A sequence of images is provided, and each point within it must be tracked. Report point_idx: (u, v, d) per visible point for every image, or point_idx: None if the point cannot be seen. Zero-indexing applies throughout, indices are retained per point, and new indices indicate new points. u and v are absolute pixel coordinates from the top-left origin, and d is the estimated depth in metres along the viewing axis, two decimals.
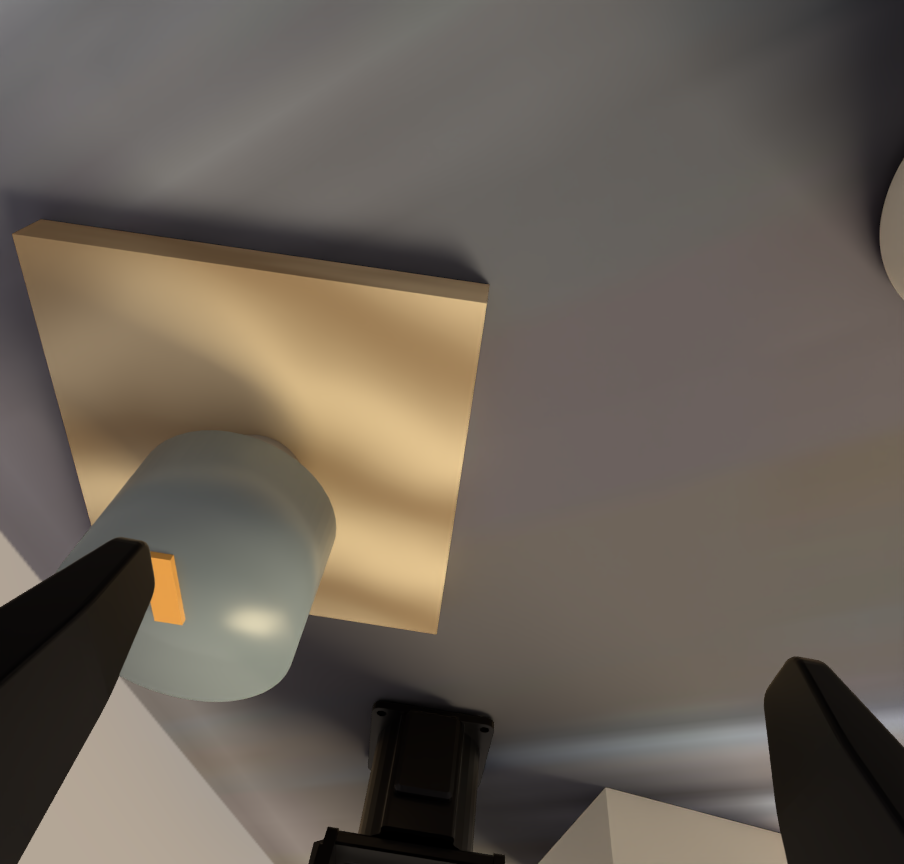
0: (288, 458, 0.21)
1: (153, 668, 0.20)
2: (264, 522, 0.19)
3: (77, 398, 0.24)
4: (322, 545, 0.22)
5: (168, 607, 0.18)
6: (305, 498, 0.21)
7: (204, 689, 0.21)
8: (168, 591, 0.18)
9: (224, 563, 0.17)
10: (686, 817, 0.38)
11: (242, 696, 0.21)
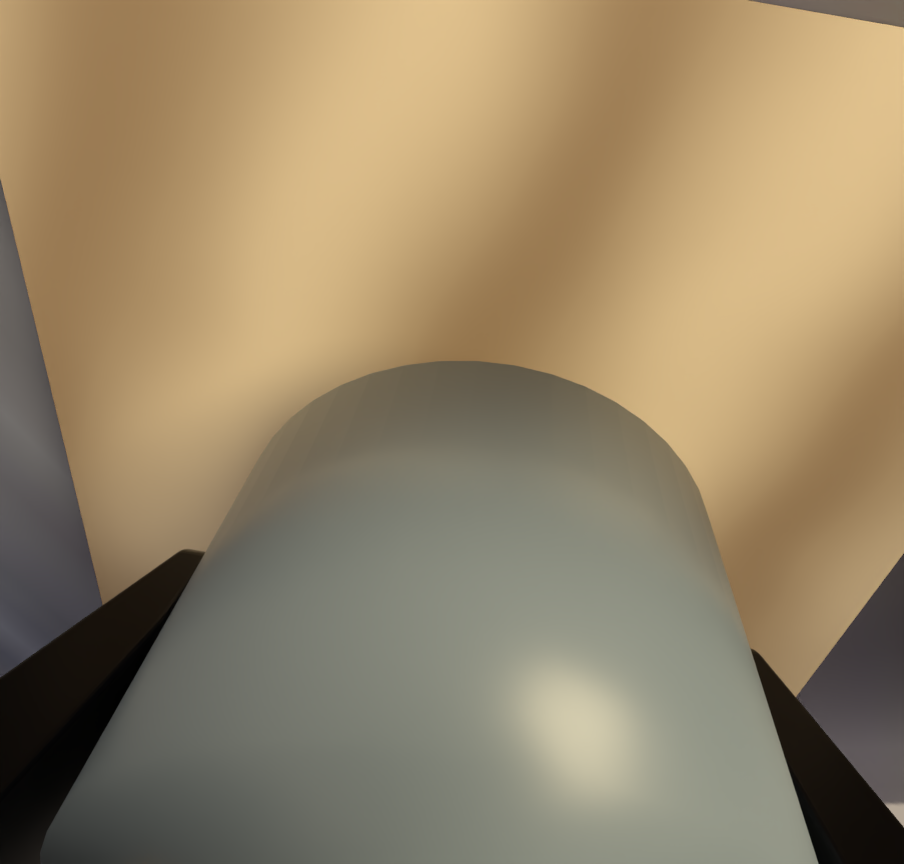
0: (278, 433, 0.09)
1: None
2: (195, 589, 0.07)
3: None
4: (446, 431, 0.07)
5: None
6: (318, 433, 0.08)
7: None
8: None
9: (62, 809, 0.05)
10: None
11: None
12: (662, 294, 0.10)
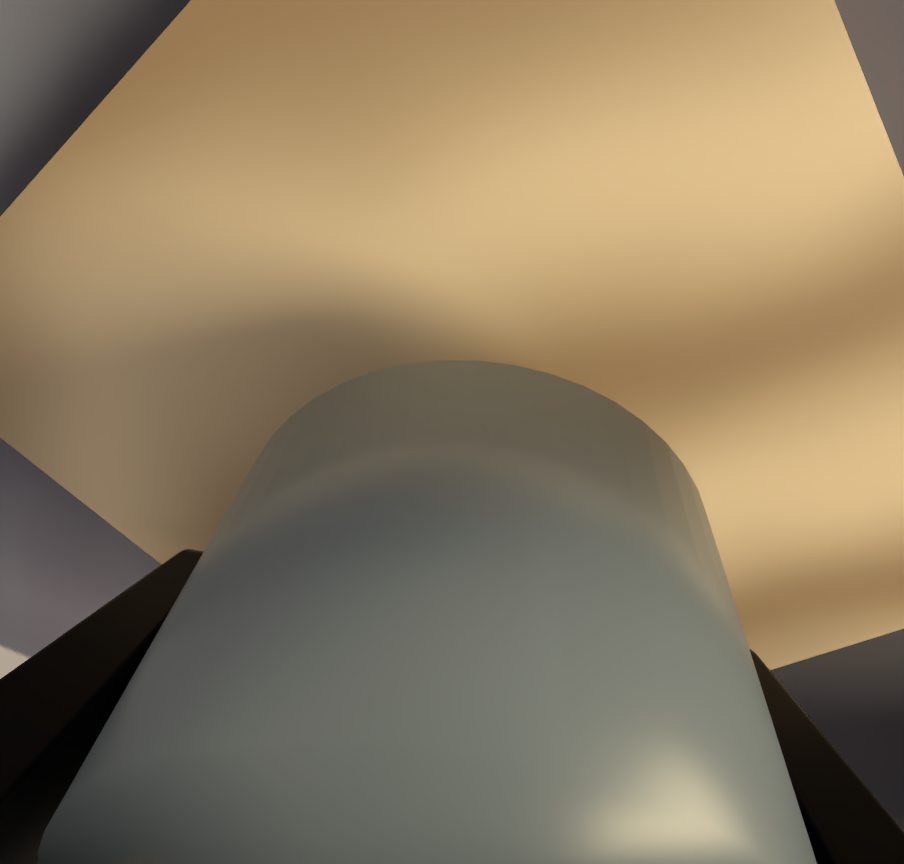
0: (277, 432, 0.09)
1: None
2: (195, 588, 0.07)
3: (168, 537, 0.14)
4: (445, 430, 0.07)
5: None
6: (316, 432, 0.08)
7: None
8: None
9: (59, 809, 0.05)
10: None
11: None
12: (729, 453, 0.12)
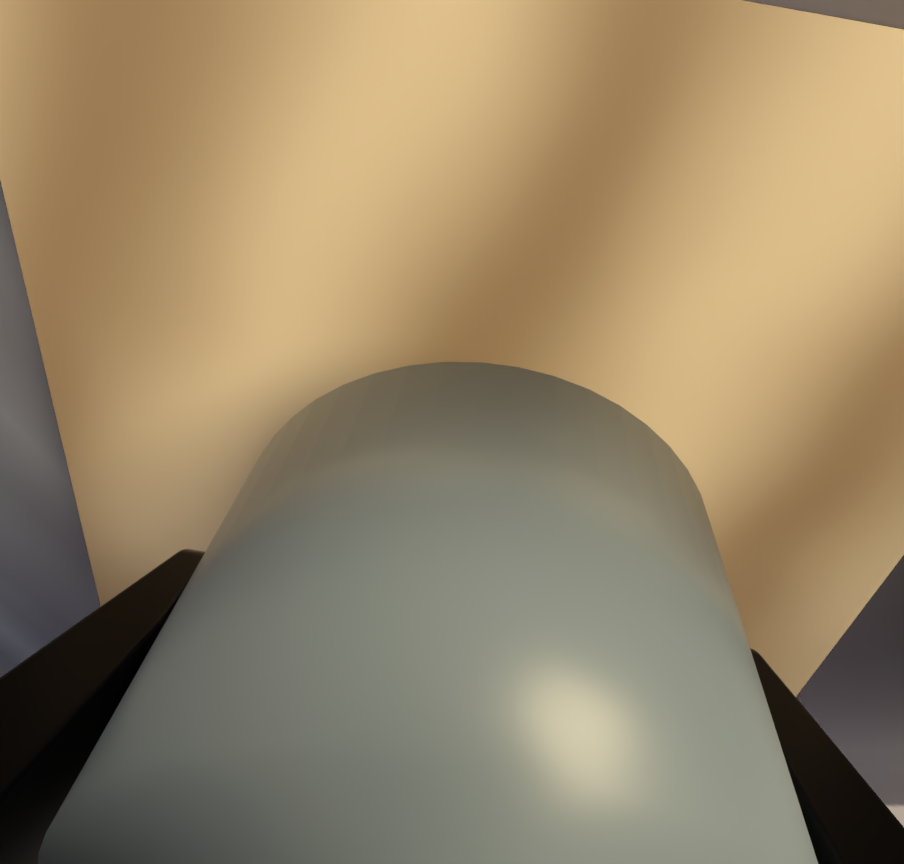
0: None
1: None
2: None
3: None
4: (243, 499, 0.08)
5: None
6: None
7: None
8: None
9: None
10: None
11: (610, 804, 0.04)
12: (663, 296, 0.10)
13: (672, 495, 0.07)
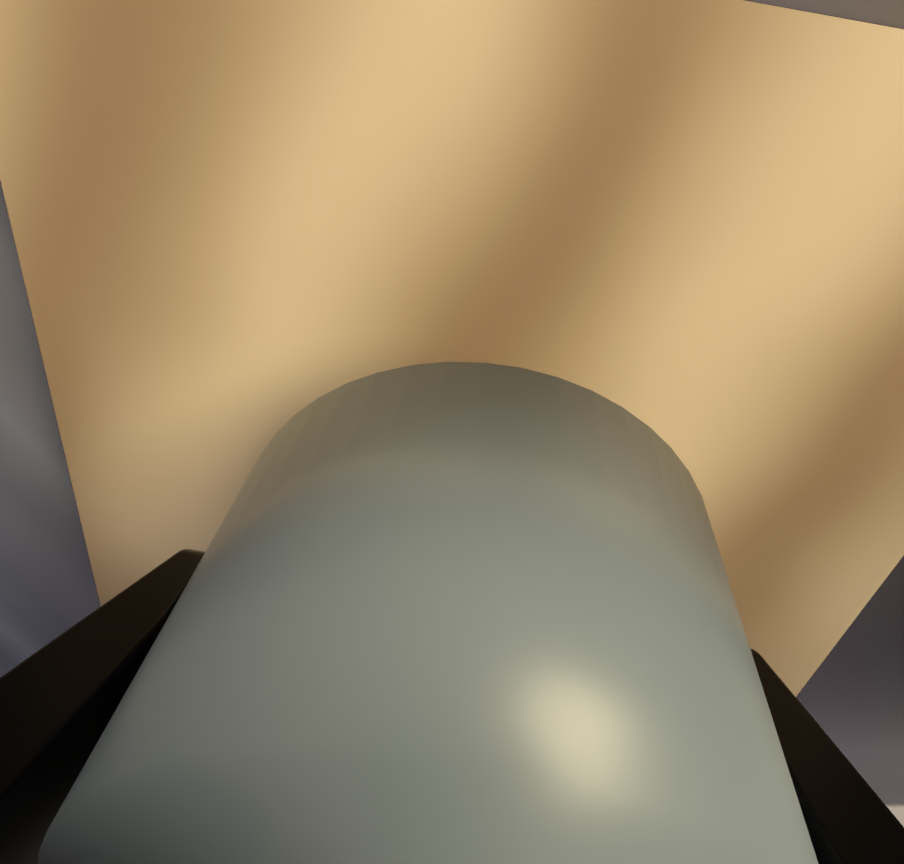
0: None
1: None
2: None
3: None
4: None
5: None
6: None
7: (397, 805, 0.04)
8: None
9: None
10: None
11: (219, 767, 0.04)
12: (663, 296, 0.10)
13: (452, 416, 0.07)
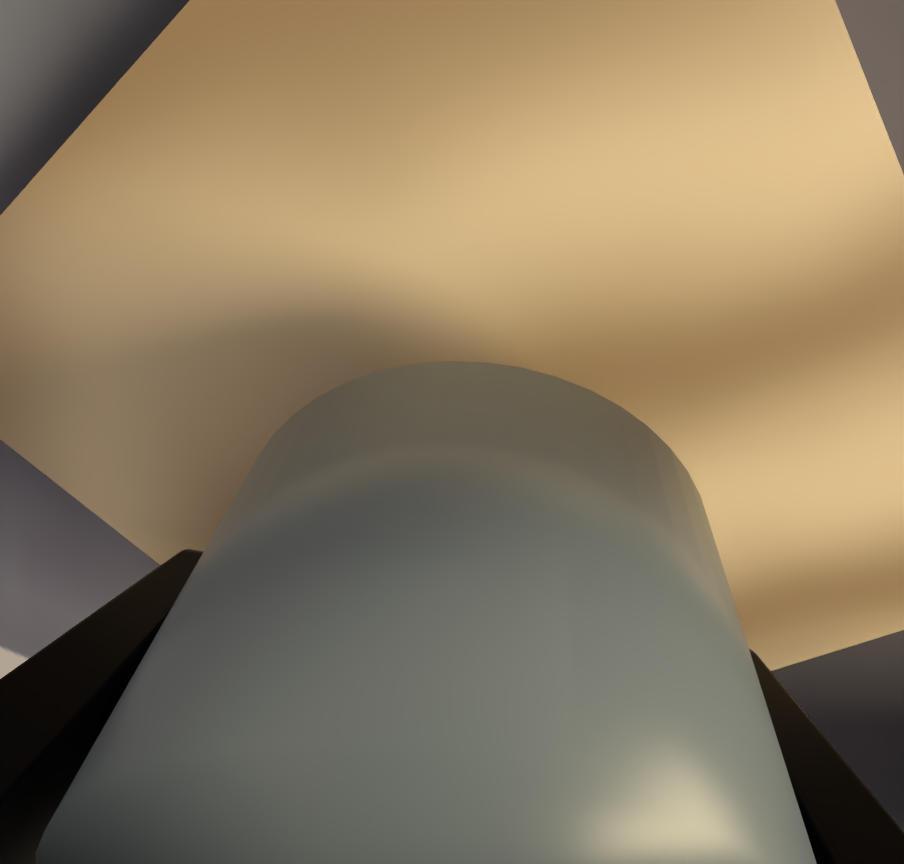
0: None
1: None
2: None
3: (167, 538, 0.14)
4: None
5: None
6: None
7: (395, 804, 0.04)
8: None
9: None
10: None
11: (216, 766, 0.04)
12: (729, 453, 0.12)
13: (451, 416, 0.07)
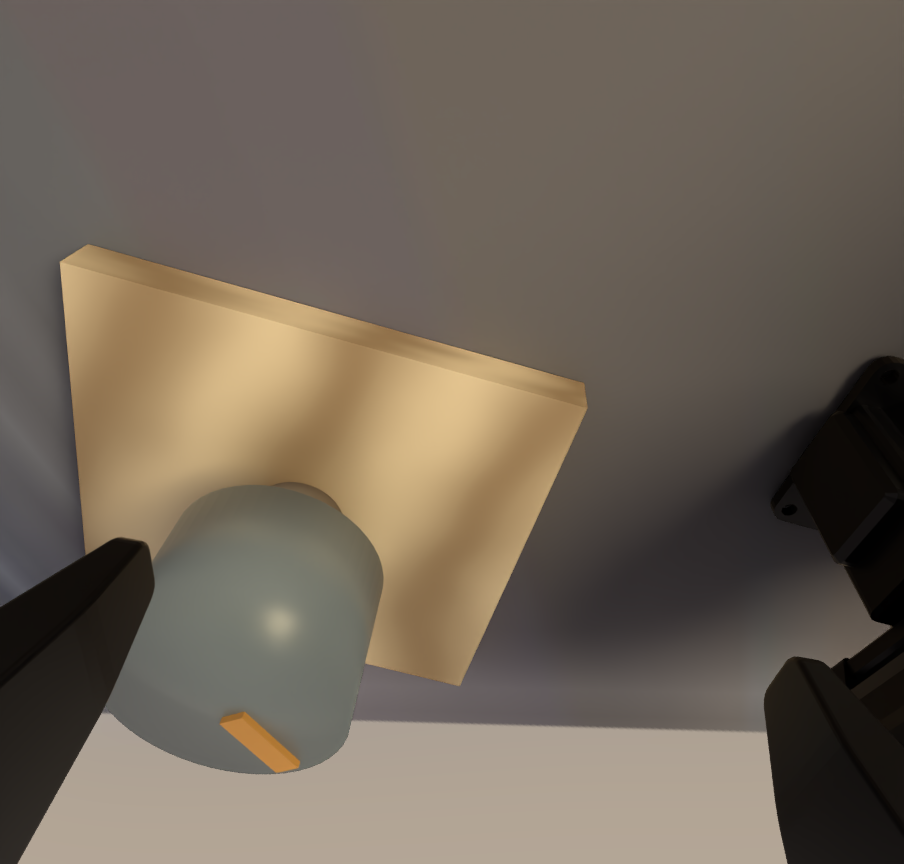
0: None
1: (195, 649, 0.17)
2: None
3: None
4: None
5: (243, 735, 0.18)
6: None
7: (133, 646, 0.17)
8: (255, 749, 0.19)
9: (242, 772, 0.20)
10: None
11: None
12: (377, 452, 0.22)
13: (177, 529, 0.20)
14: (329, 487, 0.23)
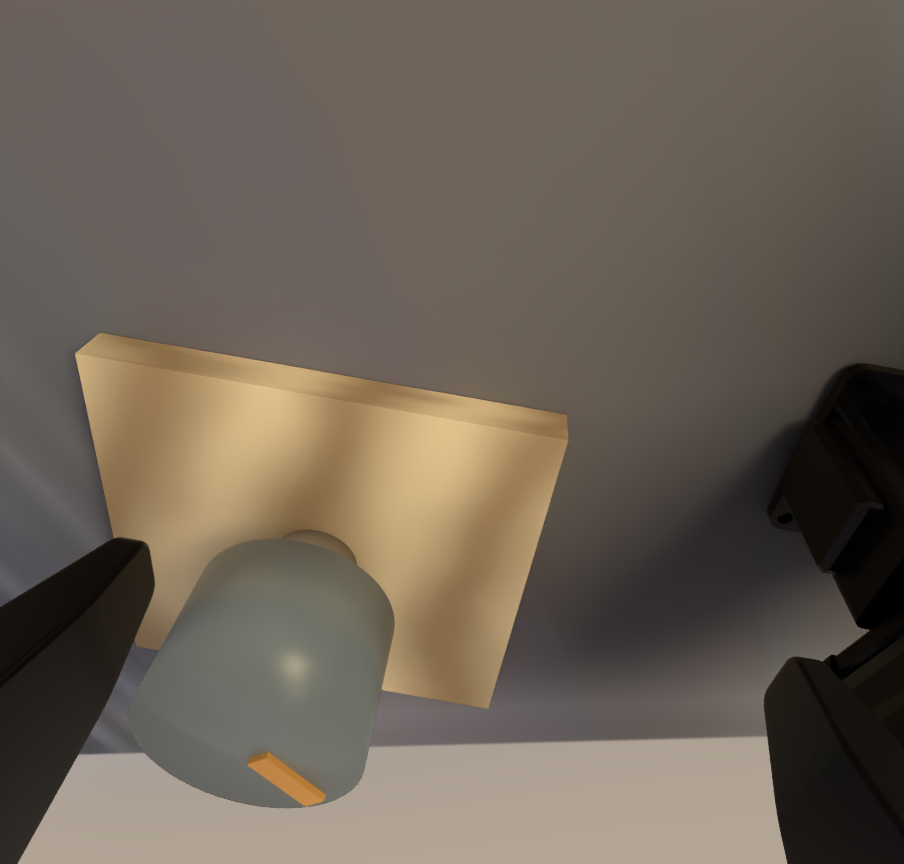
0: None
1: (215, 698, 0.18)
2: None
3: None
4: None
5: (269, 774, 0.20)
6: None
7: (161, 699, 0.19)
8: (283, 785, 0.20)
9: (275, 806, 0.21)
10: None
11: (132, 710, 0.19)
12: (378, 496, 0.23)
13: (198, 585, 0.21)
14: (339, 532, 0.25)
